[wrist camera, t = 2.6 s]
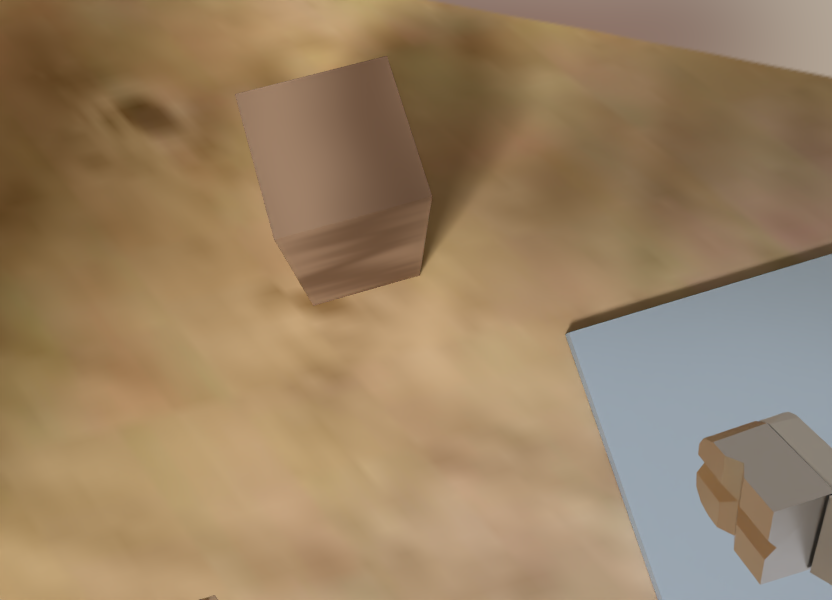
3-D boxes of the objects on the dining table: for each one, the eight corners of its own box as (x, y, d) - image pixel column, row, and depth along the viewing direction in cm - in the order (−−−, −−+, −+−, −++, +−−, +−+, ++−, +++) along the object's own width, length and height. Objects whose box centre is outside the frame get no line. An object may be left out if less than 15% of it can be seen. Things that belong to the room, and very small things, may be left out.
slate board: (678, 658, 27) (684, 662, 27) (565, 334, 30) (568, 332, 29) (978, 552, 28) (990, 554, 28) (844, 250, 31) (853, 247, 31)
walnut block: (313, 305, 30) (274, 240, 20) (285, 204, 31) (235, 94, 21) (419, 275, 30) (432, 196, 20) (389, 176, 31) (386, 55, 21)
